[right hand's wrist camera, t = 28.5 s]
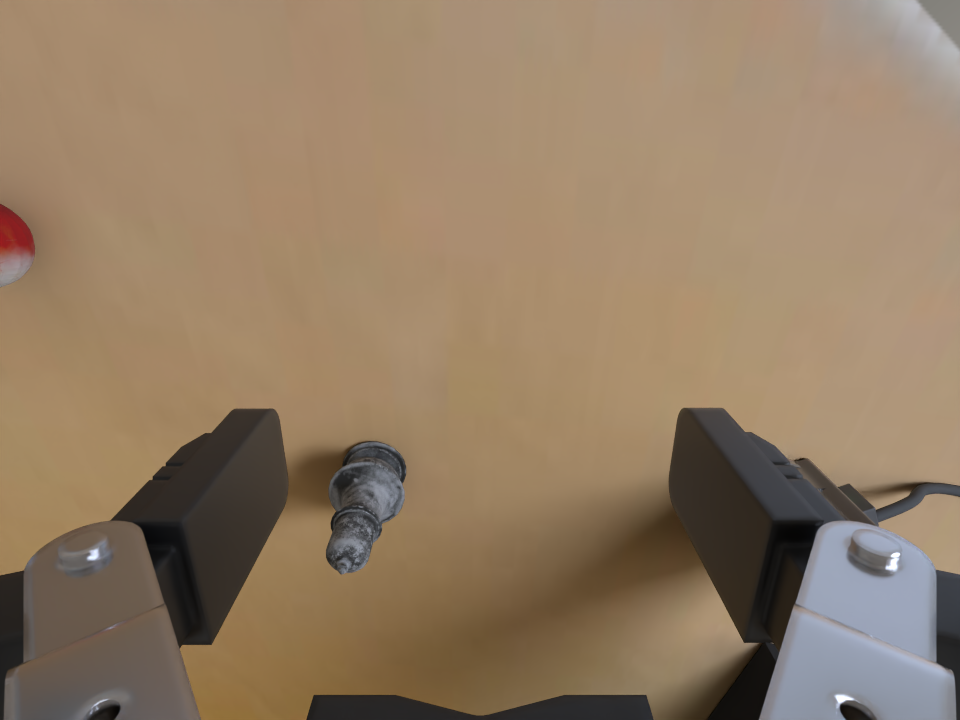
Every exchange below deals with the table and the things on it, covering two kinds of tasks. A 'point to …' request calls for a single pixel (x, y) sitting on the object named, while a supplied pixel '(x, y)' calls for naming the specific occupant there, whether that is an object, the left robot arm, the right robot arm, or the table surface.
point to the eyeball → (14, 247)
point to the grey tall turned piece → (363, 502)
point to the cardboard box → (749, 688)
